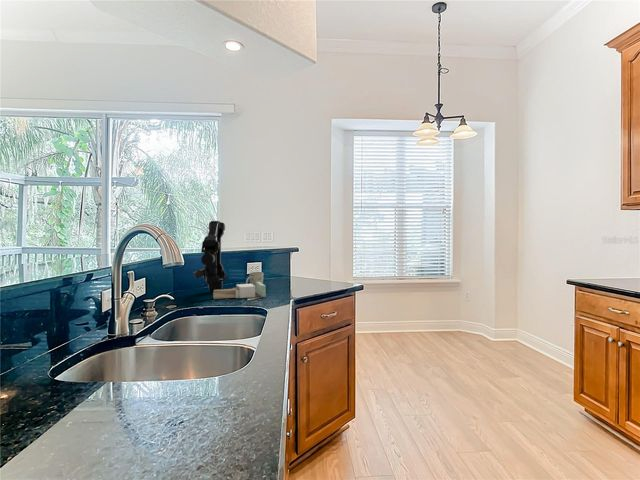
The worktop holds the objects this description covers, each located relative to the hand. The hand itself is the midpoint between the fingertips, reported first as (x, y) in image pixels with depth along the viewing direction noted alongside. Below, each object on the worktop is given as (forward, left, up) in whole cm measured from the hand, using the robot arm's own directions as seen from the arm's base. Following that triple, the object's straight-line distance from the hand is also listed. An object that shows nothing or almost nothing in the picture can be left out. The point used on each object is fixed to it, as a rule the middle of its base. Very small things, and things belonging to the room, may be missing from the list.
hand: (211, 293), depth 191 cm
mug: (-15, +26, -3) cm, 30 cm away
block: (0, +17, -3) cm, 17 cm away
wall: (0, +26, -3) cm, 26 cm away
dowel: (0, +7, -3) cm, 8 cm away
